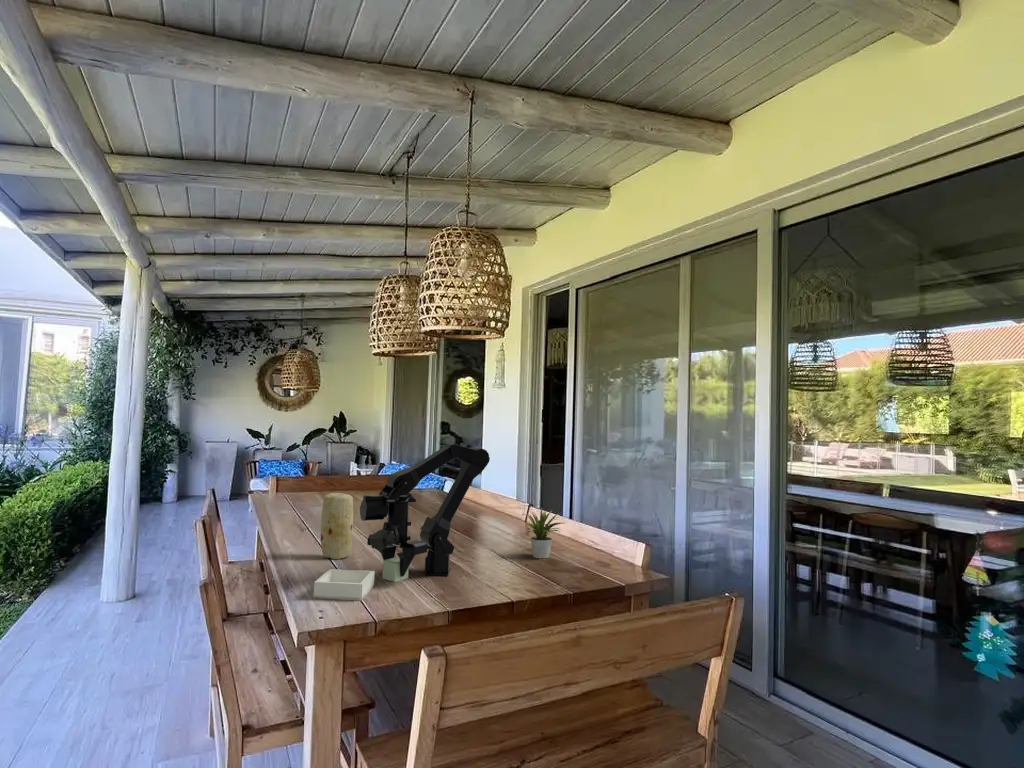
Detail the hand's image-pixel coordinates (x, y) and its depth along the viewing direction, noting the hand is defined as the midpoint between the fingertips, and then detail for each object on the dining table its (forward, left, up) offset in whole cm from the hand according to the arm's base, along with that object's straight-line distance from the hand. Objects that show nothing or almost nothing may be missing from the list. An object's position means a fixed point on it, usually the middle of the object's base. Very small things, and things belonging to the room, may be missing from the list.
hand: (395, 574), depth 167 cm
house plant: (-41, -29, -1) cm, 50 cm away
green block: (0, 0, -1) cm, 1 cm away
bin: (+10, +14, -1) cm, 17 cm away
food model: (+23, -19, -1) cm, 30 cm away
